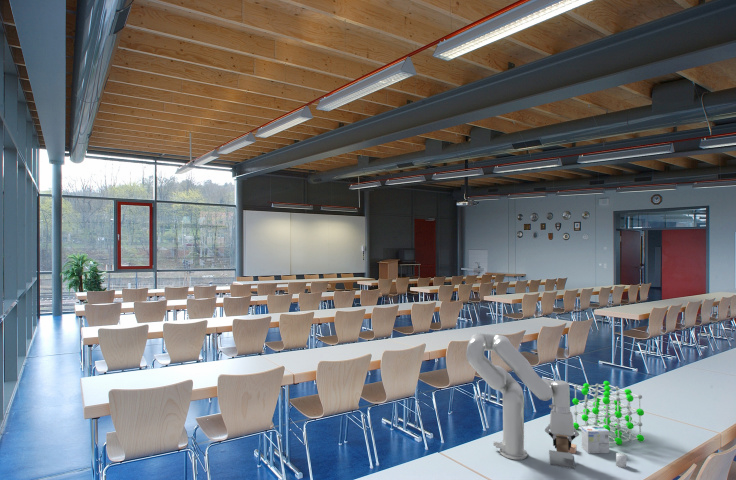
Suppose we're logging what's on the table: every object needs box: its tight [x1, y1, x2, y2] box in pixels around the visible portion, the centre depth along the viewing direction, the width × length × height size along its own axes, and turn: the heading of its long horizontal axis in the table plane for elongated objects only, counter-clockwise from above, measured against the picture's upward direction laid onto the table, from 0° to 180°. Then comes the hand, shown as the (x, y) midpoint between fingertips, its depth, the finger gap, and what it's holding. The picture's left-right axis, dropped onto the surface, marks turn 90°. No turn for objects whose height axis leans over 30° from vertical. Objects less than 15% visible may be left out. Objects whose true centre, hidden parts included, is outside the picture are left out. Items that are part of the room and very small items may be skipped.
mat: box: [548, 449, 575, 470], centre depth 205 cm, size 10×14×1 cm
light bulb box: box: [580, 425, 610, 454], centre depth 215 cm, size 11×7×11 cm, turn 92°
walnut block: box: [555, 434, 570, 453], centre depth 205 cm, size 5×5×6 cm
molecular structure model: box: [571, 380, 645, 446], centre depth 233 cm, size 24×25×24 cm
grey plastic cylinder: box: [615, 452, 627, 469], centre depth 200 cm, size 4×4×5 cm
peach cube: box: [568, 443, 578, 454], centre depth 214 cm, size 4×4×3 cm
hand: (562, 447), depth 205 cm, fingers closed on walnut block, 5 cm apart
